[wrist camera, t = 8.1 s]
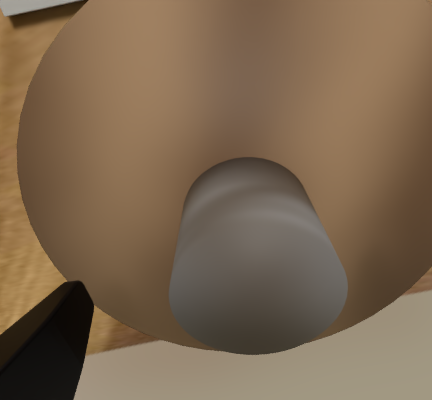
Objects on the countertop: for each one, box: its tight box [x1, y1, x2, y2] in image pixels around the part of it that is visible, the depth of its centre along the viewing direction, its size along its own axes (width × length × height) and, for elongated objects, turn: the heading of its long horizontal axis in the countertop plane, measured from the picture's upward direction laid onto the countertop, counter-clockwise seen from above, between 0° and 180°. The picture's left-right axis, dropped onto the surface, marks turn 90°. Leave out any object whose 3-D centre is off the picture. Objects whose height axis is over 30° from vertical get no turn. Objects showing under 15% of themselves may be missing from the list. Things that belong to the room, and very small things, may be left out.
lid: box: [17, 0, 432, 355], centre depth 9 cm, size 14×14×4 cm
